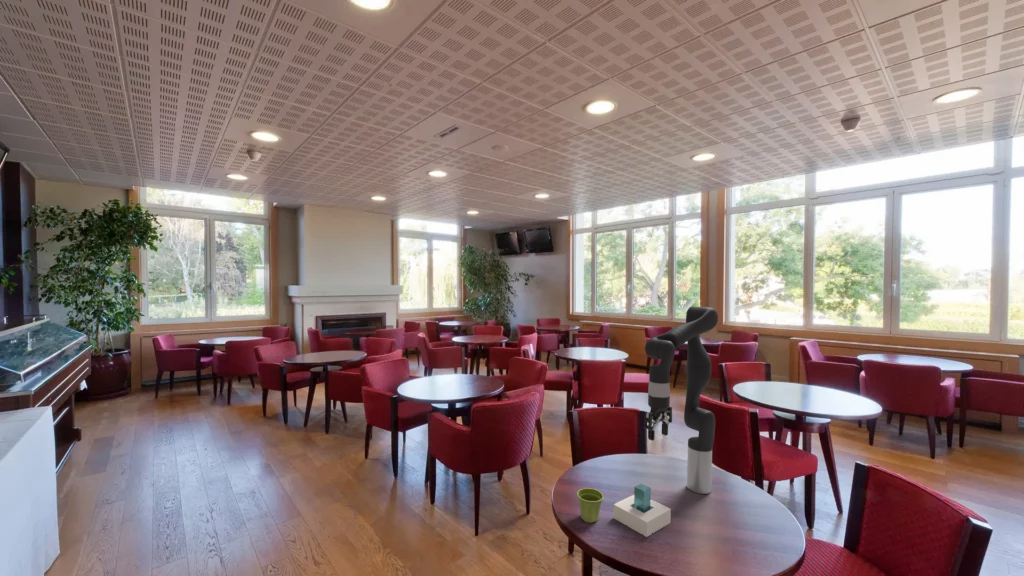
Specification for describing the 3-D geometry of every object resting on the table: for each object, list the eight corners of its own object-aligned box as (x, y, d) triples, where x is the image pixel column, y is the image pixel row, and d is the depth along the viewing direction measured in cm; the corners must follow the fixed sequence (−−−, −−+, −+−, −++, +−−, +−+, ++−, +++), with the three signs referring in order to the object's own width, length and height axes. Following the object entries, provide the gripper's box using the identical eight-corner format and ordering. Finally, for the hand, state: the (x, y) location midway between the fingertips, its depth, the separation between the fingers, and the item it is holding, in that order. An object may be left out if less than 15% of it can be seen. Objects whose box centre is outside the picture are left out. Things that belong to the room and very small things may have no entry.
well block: (637, 505, 162) (637, 492, 162) (670, 522, 151) (670, 508, 151) (613, 518, 154) (613, 504, 154) (646, 537, 143) (647, 522, 142)
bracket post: (640, 516, 155) (641, 483, 155) (650, 521, 152) (650, 487, 152) (633, 519, 153) (634, 486, 152) (643, 525, 150) (644, 491, 149)
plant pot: (604, 514, 156) (604, 490, 156) (601, 528, 147) (601, 503, 147) (579, 509, 159) (579, 486, 159) (574, 522, 150) (574, 498, 150)
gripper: (661, 388, 164) (660, 430, 164) (638, 394, 155) (637, 438, 156) (679, 392, 158) (678, 436, 159) (656, 399, 149) (655, 445, 150)
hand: (658, 437), depth 157 cm, fingers open, 8 cm apart
